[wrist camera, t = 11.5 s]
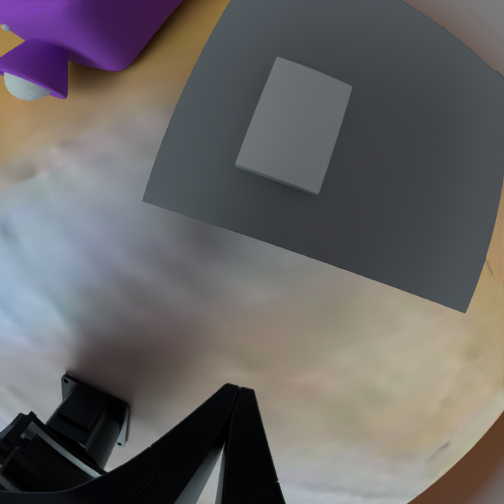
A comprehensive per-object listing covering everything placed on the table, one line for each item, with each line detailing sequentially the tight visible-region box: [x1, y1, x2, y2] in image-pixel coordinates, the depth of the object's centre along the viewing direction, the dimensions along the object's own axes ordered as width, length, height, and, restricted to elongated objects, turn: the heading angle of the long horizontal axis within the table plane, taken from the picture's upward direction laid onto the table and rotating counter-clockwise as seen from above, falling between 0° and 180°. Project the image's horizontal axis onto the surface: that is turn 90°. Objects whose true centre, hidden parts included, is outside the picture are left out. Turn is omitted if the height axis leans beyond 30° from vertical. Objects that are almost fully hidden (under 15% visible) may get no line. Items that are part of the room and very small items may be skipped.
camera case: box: [142, 0, 504, 313], centre depth 11 cm, size 11×11×11 cm
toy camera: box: [0, 0, 183, 100], centre depth 9 cm, size 11×14×10 cm
